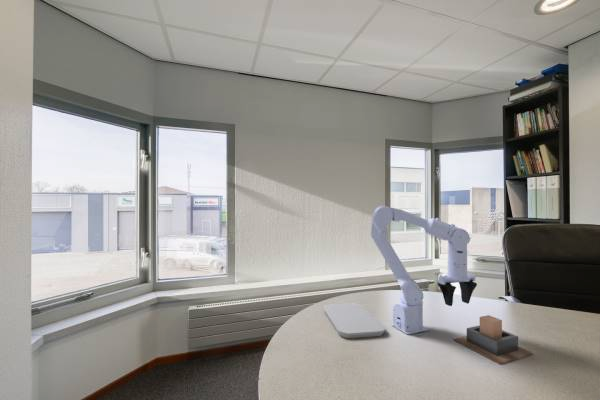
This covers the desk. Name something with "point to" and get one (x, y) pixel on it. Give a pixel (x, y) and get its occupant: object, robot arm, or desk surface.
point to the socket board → (494, 345)
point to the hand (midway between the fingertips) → (457, 303)
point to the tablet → (353, 320)
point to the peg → (491, 326)
